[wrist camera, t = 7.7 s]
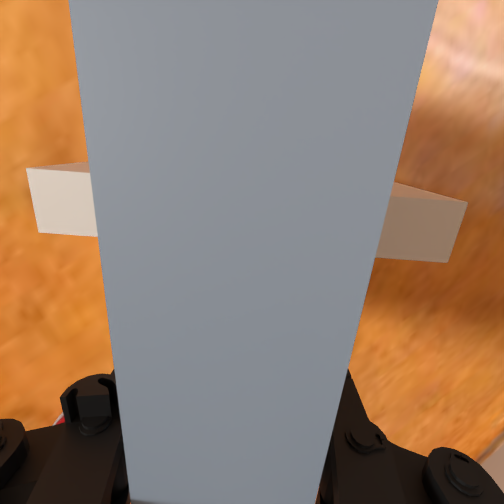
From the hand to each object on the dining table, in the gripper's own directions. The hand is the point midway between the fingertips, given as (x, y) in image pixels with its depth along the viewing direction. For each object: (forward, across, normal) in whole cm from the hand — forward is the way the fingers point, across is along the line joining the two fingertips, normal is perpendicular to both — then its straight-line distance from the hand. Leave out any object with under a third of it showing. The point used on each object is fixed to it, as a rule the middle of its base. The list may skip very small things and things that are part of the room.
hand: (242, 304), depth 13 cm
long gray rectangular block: (+1, 0, -4) cm, 5 cm away
